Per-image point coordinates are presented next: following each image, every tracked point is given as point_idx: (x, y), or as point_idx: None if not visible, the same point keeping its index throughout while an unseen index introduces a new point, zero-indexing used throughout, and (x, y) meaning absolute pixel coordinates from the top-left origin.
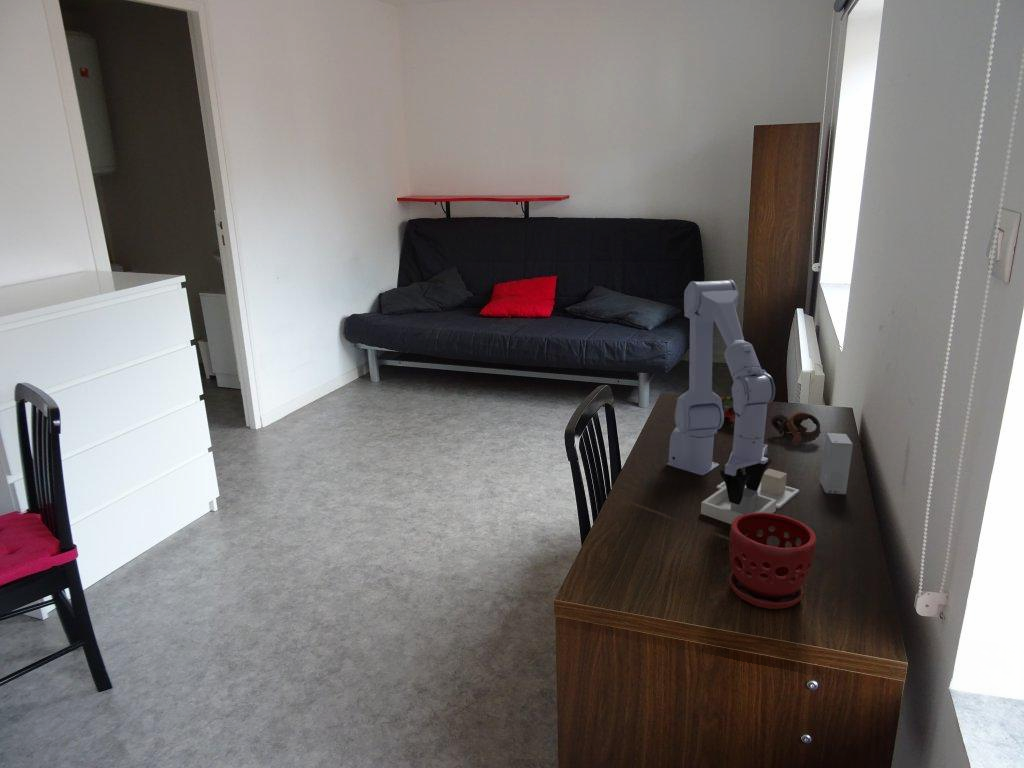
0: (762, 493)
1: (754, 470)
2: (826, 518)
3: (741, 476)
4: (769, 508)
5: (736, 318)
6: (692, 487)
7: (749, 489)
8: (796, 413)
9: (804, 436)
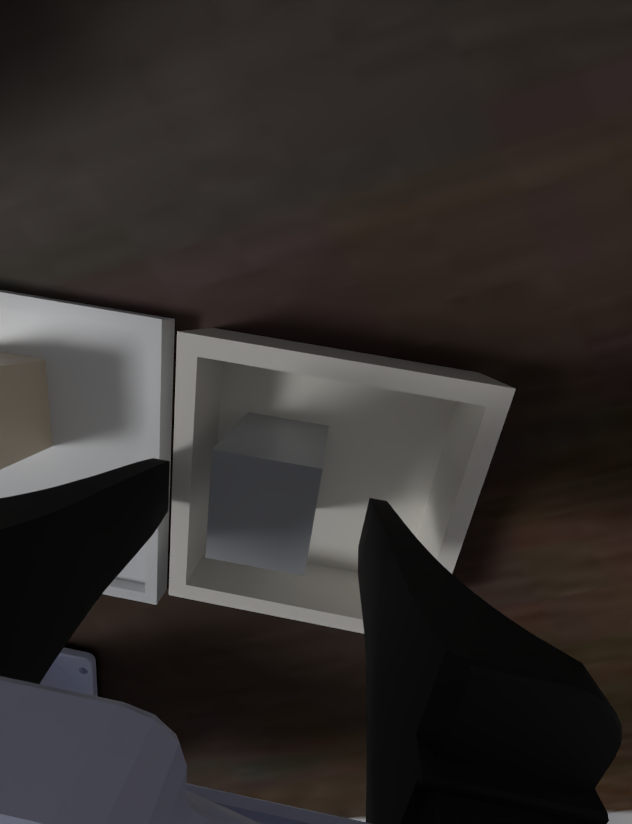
0: (74, 430)
1: (59, 575)
2: (94, 49)
3: (568, 752)
4: (278, 345)
5: None
6: (198, 659)
7: (211, 501)
8: None
9: None
